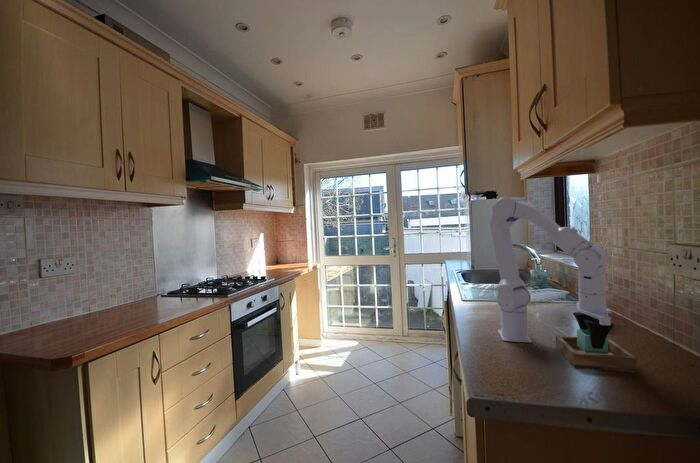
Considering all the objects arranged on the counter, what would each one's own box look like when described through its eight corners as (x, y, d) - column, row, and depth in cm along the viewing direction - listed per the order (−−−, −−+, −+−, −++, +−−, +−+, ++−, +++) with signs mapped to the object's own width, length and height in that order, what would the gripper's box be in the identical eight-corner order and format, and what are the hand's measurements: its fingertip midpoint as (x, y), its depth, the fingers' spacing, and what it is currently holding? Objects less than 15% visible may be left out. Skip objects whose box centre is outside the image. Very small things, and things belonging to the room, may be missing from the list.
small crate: (576, 345, 88) (576, 329, 88) (598, 346, 87) (598, 330, 87) (585, 352, 83) (585, 335, 83) (607, 354, 82) (607, 336, 82)
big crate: (555, 347, 93) (555, 335, 93) (609, 351, 90) (608, 338, 90) (574, 367, 81) (574, 354, 80) (636, 372, 77) (636, 358, 77)
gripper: (625, 299, 77) (626, 356, 77) (596, 287, 91) (597, 335, 91) (590, 298, 78) (591, 354, 79) (567, 286, 92) (568, 333, 93)
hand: (592, 344), depth 85 cm, fingers closed on small crate, 5 cm apart
